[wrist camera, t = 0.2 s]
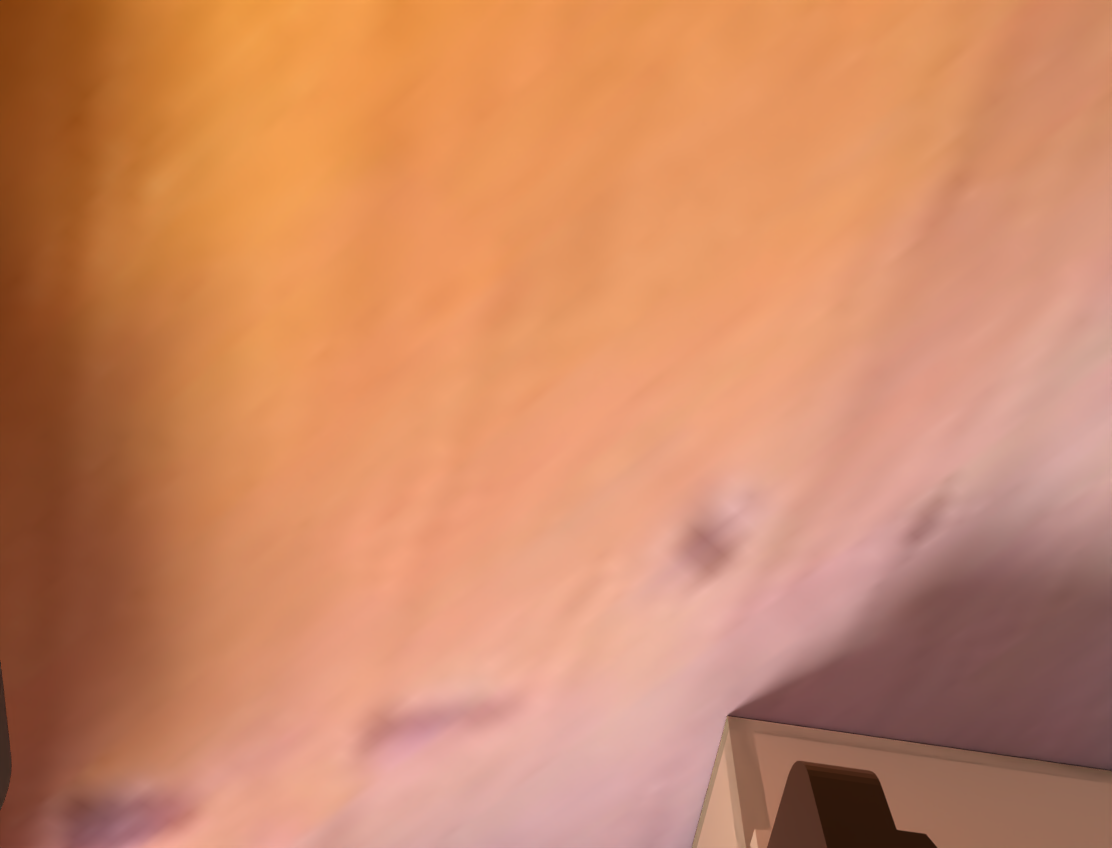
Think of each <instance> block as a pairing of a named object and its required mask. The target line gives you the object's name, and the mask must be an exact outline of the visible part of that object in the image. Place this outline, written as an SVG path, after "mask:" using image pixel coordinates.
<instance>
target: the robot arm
mask: <svg viewBox="0 0 1112 848" xmlns="http://www.w3.org/2000/svg"><path fill="white" fill-rule="evenodd" d="M11 766H12V765H11V752H10V743H9V734H8V725H7V716H6V707H5V698H4V689H3V679H2V670H1V662H0V810H1V807H2V805H3V802H4V800H5V797H6V794H7V791H8V786H9V782H10V776H11ZM767 848H937V846H936V845H935V844H934V843H933V842H932V840H931V839H930V838H929V837H928V836H927V834H923V833H916V832H909V831H902V830H897V829H896V826H895V823H894V820H893V817H892V815H891V812H890V809H889V806H888V803H887V800H886V797H885V794H884V791H883V789H882V786H881V783H880V781H879V779H878V777H877V776H876V774H875V773H874V772H872V771H870V770H863V769H855V768H848V767H841V766H834V765H827V764H820V763H813V762H806V761H796V762H795V763H794V764H793V766H792V768H791V770H790V772H789V775H788V778H787V781H786V785H785V788H784V791H783V795H782V798H781V802H780V805H779V808H778V812H777V815H776V819H775V822H774V825H773V829H772V832H771V836H770V839H769V842H768V846H767Z"/></svg>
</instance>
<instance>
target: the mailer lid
mask: <svg viewBox="0 0 1112 848" xmlns="http://www.w3.org/2000/svg"><path fill="white" fill-rule="evenodd" d="M771 832H772V831H768V830H761V829H755V830H754V833H753V837H752V840H751V843H750V847H751V848H767V846H768V842H769V839H770V836H771Z"/></svg>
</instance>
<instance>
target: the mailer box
mask: <svg viewBox="0 0 1112 848" xmlns="http://www.w3.org/2000/svg"><path fill="white" fill-rule="evenodd" d="M796 761H806V762H813V763H820V764H827V765H834V766H841V767H848V768H855V769H863V770H870V771H872V772H874V773H875V774H876V776H877V777H878V779H879V781H880V783H881V786H882V789H883V791H884V794H885V797H886V800H887V803H888V806H889V809H890V812H891V815H892V817H893V820H894V823H895V826H896V829H897V830H902V831H909V832H916V833H923V834H927V836H928V837H929V838H930V839H931V840H932V842H933V843H934V844H935V845H936V846H937V848H1112V771H1109V770H1102V769H1095V768H1088V767H1081V766H1074V765H1067V764H1060V763H1053V762H1046V761H1039V760H1032V759H1025V758H1018V757H1011V756H1004V755H997V754H990V753H983V752H976V751H969V750H962V749H955V748H948V747H941V746H934V745H927V744H920V743H913V742H906V741H899V740H892V739H885V738H878V737H871V736H864V735H857V734H850V733H843V732H836V731H829V730H822V729H815V728H808V727H801V726H794V725H787V724H780V723H773V722H766V721H759V720H752V719H745V718H738V717H731V716H727V719H726V722H725V726H724V730H723V734H722V737H721V741H720V745H719V748H718V752H717V756H716V760H715V763H714V767H713V771H712V774H711V778H710V782H709V785H708V789H707V793H706V797H705V800H704V804H703V808H702V811H701V815H700V819H699V822H698V826H697V830H696V834H695V837H694V841H693V845H692V848H751V847H750V843H751V840H752V837H753V833H754V830H755V829H761V830H768V831H772V829H773V825H774V822H775V819H776V815H777V812H778V808H779V805H780V802H781V798H782V795H783V791H784V788H785V785H786V781H787V778H788V775H789V772H790V770H791V768H792V766H793V764H794V763H795V762H796Z"/></svg>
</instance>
